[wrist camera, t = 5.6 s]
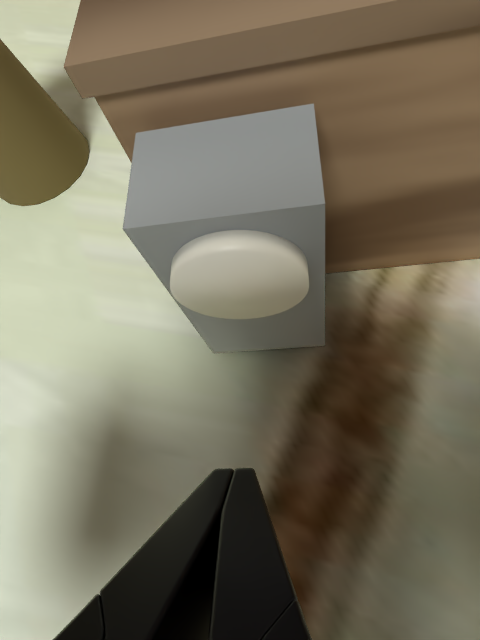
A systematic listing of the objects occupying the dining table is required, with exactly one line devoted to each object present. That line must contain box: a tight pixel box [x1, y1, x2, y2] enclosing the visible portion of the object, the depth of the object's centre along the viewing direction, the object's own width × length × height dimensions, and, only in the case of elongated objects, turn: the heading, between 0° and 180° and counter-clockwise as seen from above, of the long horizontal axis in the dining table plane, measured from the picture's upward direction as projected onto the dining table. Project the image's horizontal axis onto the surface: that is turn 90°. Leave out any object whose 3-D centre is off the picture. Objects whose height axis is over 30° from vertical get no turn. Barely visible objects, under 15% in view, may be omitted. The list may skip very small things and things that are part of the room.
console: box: [64, 0, 480, 273], centre depth 13 cm, size 5×19×11 cm, turn 90°
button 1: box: [123, 103, 325, 353], centre depth 13 cm, size 4×4×8 cm
